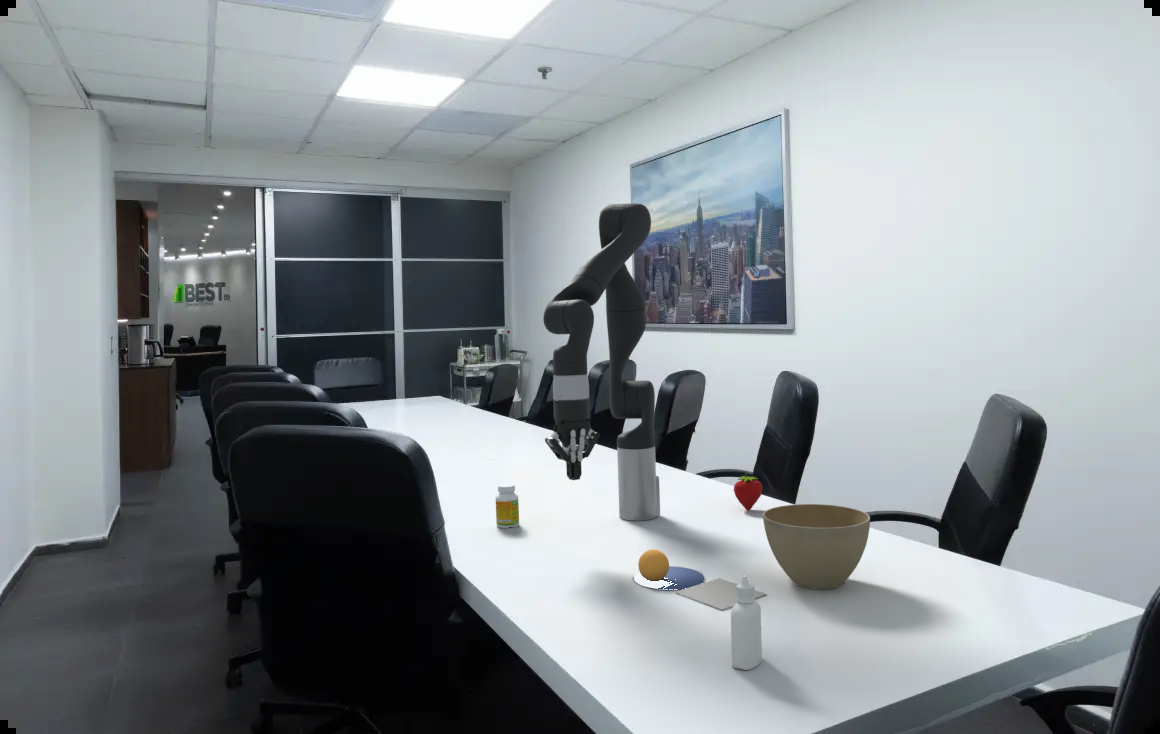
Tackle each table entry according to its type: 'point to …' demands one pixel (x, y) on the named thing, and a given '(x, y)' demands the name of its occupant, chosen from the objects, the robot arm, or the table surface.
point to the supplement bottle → (507, 506)
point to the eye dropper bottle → (746, 628)
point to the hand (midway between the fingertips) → (574, 479)
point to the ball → (653, 565)
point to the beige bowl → (817, 542)
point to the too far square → (715, 593)
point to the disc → (682, 578)
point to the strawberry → (748, 491)
